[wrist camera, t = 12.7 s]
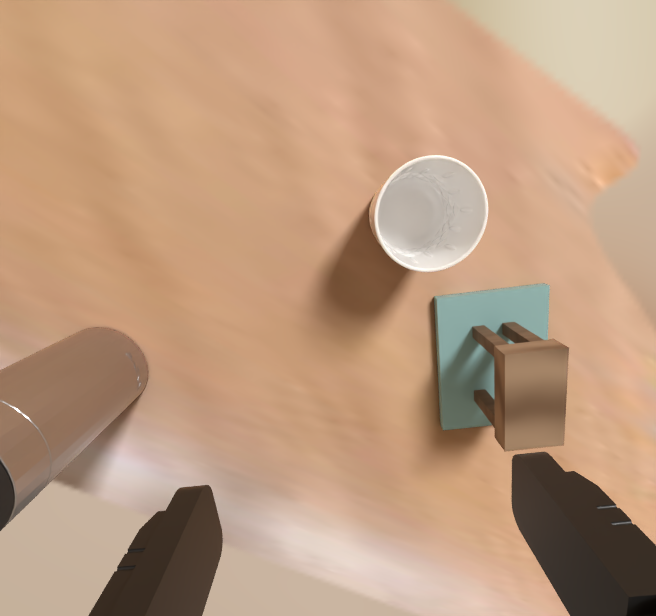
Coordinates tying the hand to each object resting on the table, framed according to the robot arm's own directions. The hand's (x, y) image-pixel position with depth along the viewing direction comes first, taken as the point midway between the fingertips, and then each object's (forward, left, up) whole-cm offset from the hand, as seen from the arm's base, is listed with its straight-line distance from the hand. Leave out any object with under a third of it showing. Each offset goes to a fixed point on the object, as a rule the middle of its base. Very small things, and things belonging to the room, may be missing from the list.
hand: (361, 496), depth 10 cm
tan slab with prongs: (+15, -10, -27) cm, 32 cm away
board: (+15, -10, -28) cm, 33 cm away
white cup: (+7, +6, -28) cm, 30 cm away
